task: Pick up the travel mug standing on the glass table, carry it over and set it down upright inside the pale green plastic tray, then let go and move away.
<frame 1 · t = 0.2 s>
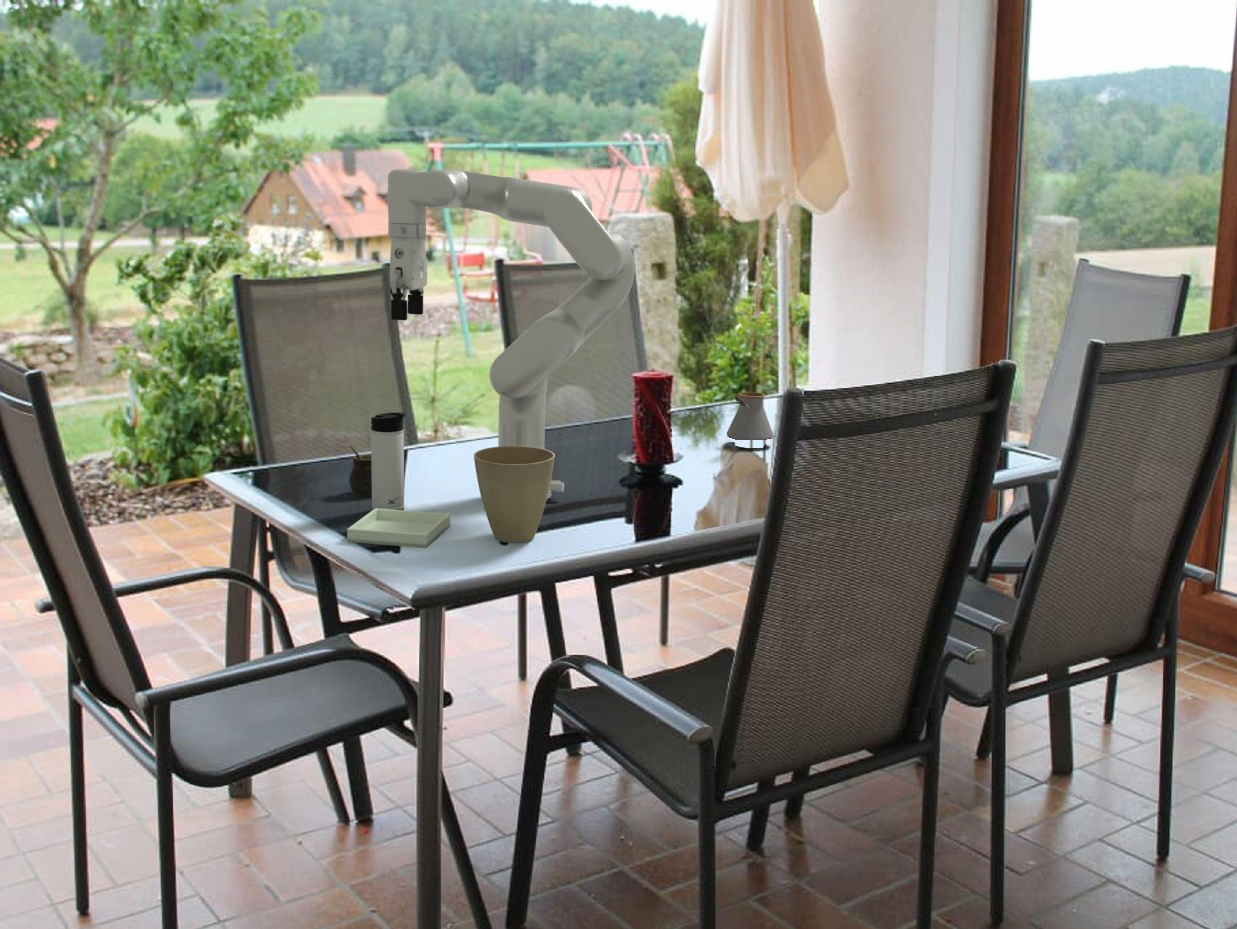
hand: (407, 317, 284), 36 cm above the table, tool pointing down, fingers open, 9 cm apart
travel mug: (389, 513, 275), on the table
mate gourd: (366, 495, 288), on the table
coffee pot: (744, 450, 339), on the table
tray: (400, 533, 260), on the table
plant pot: (513, 538, 260), on the table
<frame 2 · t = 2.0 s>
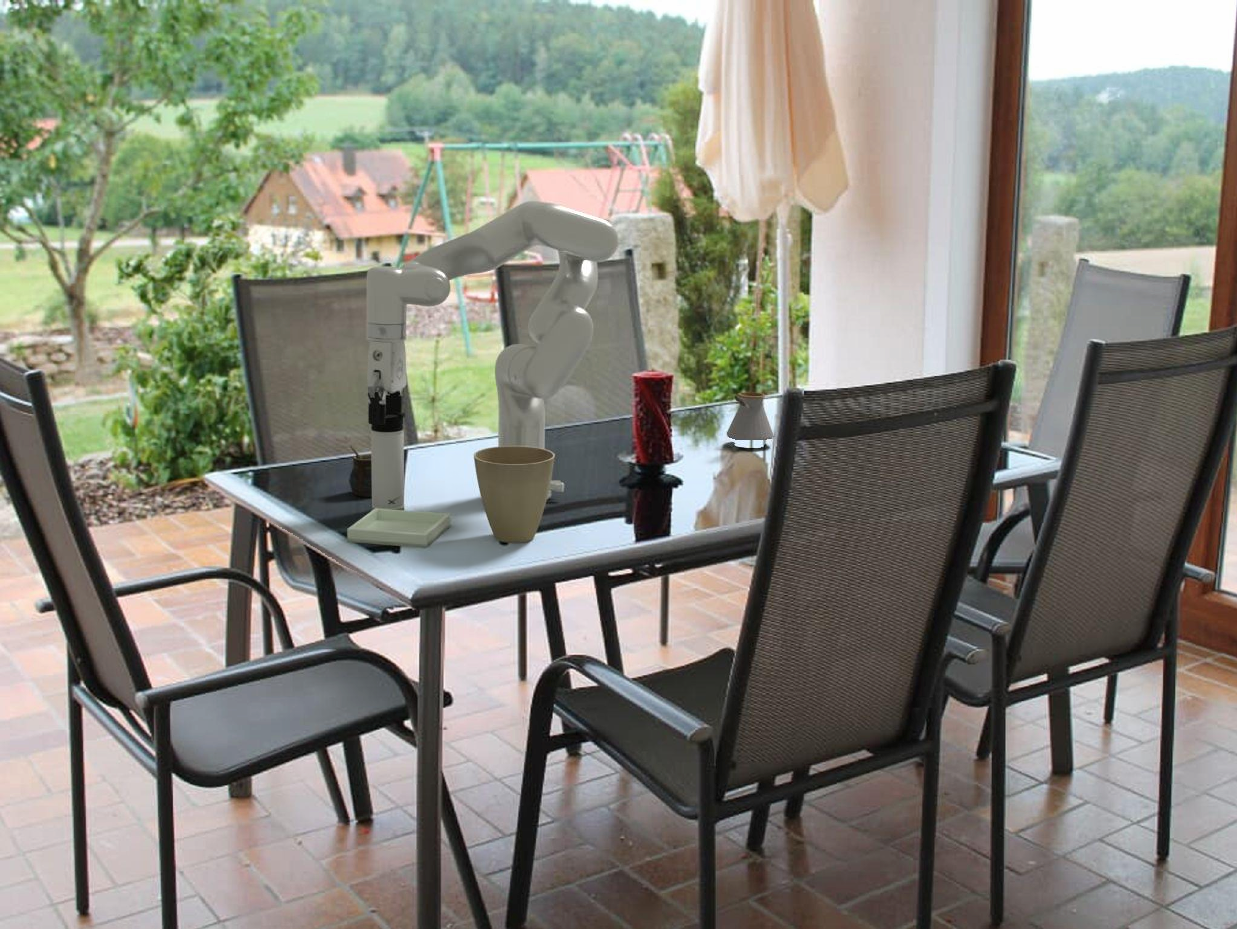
hand: (385, 419, 270), 19 cm above the table, tool pointing down, fingers open, 9 cm apart
nothing on the table moved.
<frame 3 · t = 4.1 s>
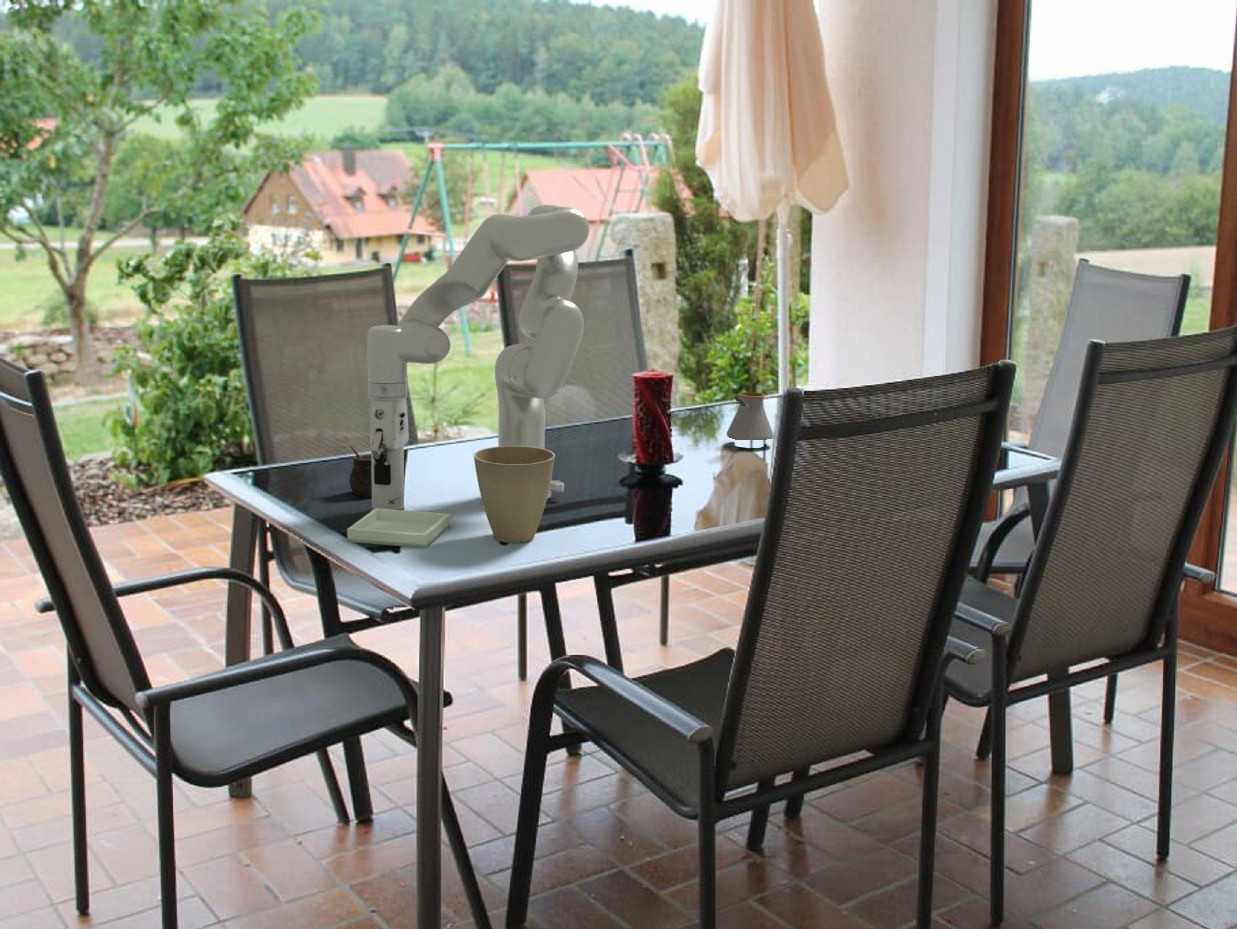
hand: (388, 479, 273), 7 cm above the table, tool pointing down, fingers closed on travel mug, 6 cm apart
travel mug: (388, 513, 275), on the table, touching gripper
everything else where it was.
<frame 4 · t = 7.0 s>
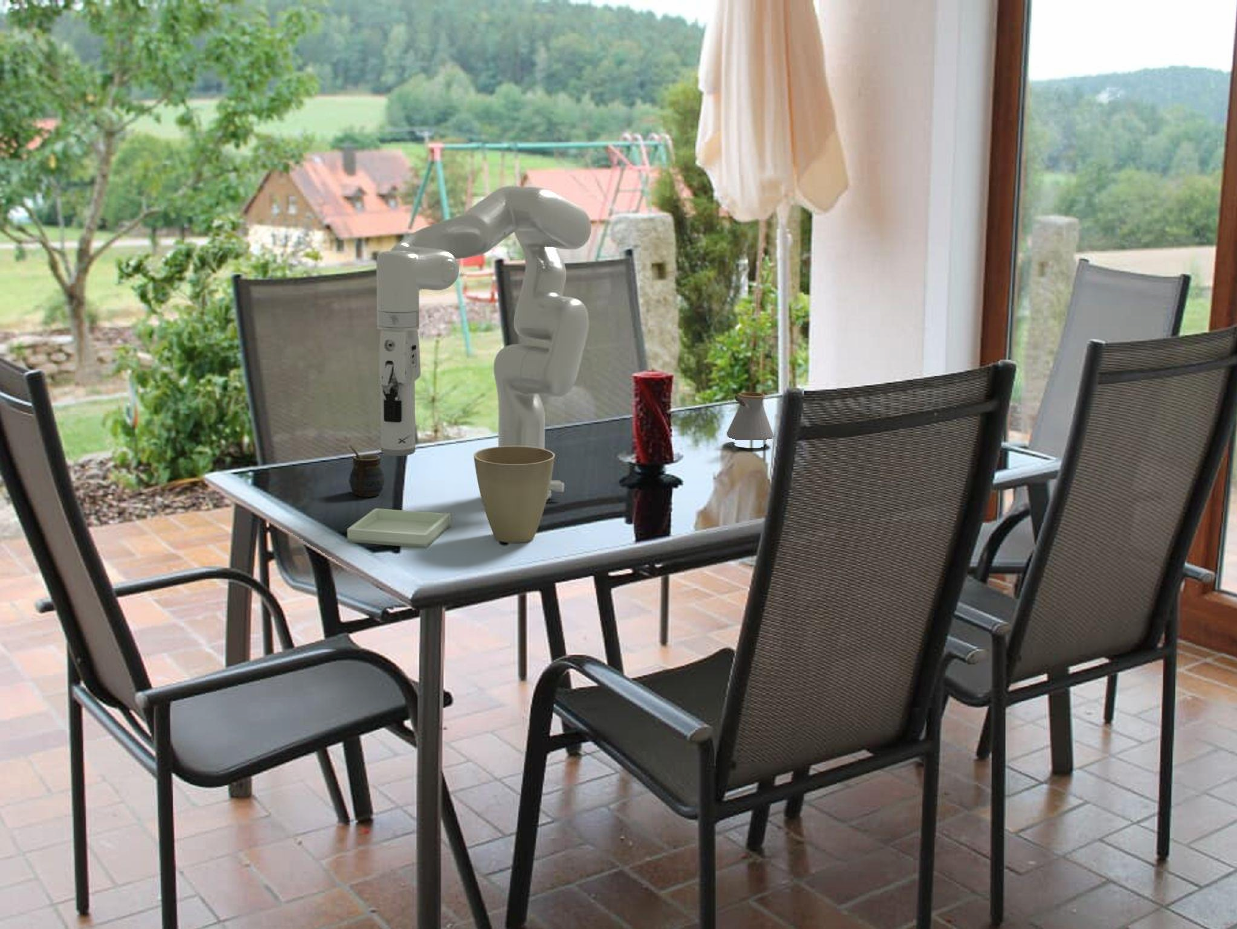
hand: (399, 417, 255), 22 cm above the table, tool pointing down, fingers closed on travel mug, 6 cm apart
travel mug: (399, 453, 257), point 15 cm above the table, touching gripper
everything else where it was.
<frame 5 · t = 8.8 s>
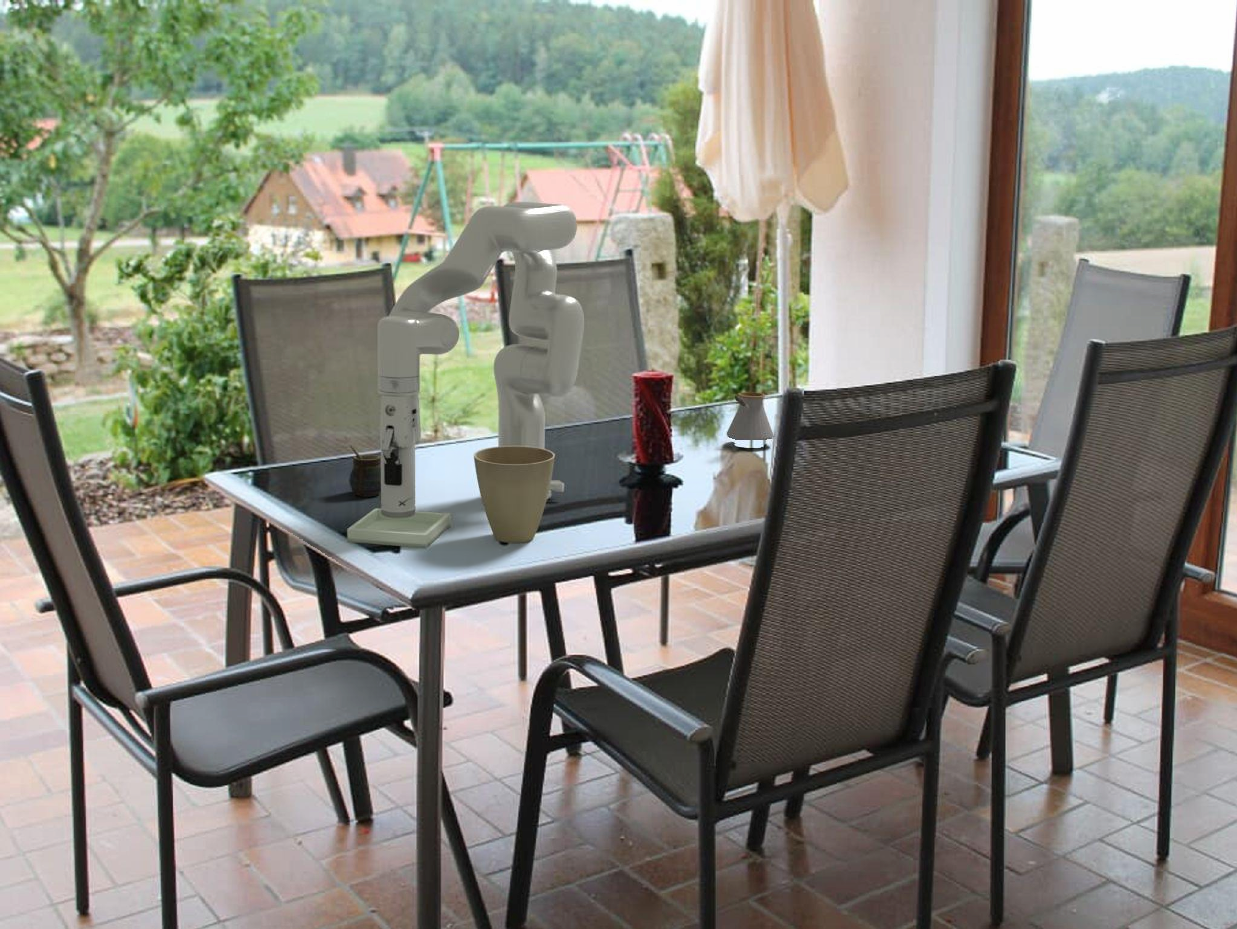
hand: (399, 479, 258), 10 cm above the table, tool pointing down, fingers closed on travel mug, 6 cm apart
travel mug: (399, 515, 259), point 4 cm above the table, touching gripper
everything else where it was.
when the fingers open (8 cm above the table, at t = 10.3 s): travel mug stays where it is, resting on tray.
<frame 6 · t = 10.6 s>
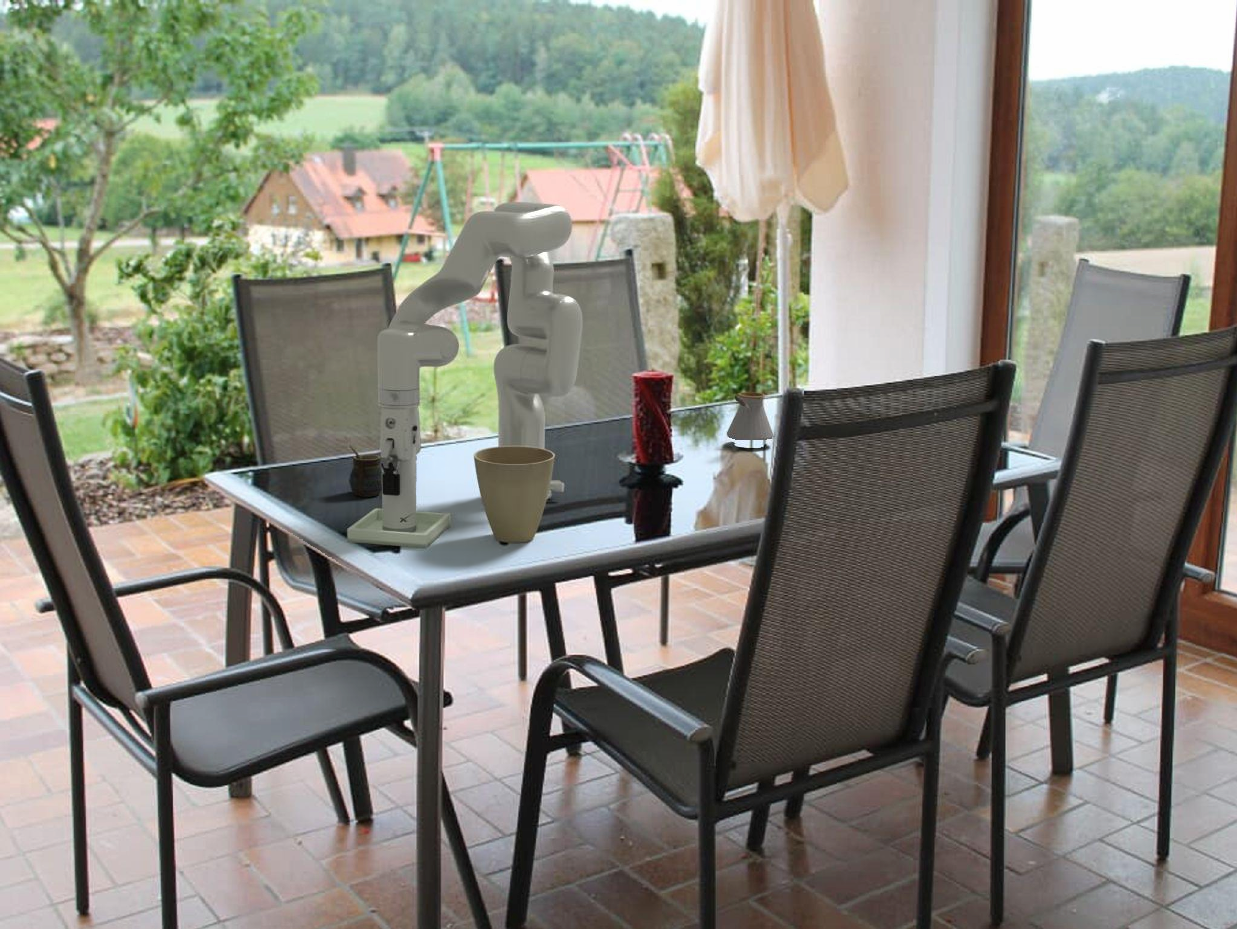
hand: (399, 488, 258), 9 cm above the table, tool pointing down, fingers open, 9 cm apart
travel mug: (400, 531, 260), resting on tray
everything else where it was.
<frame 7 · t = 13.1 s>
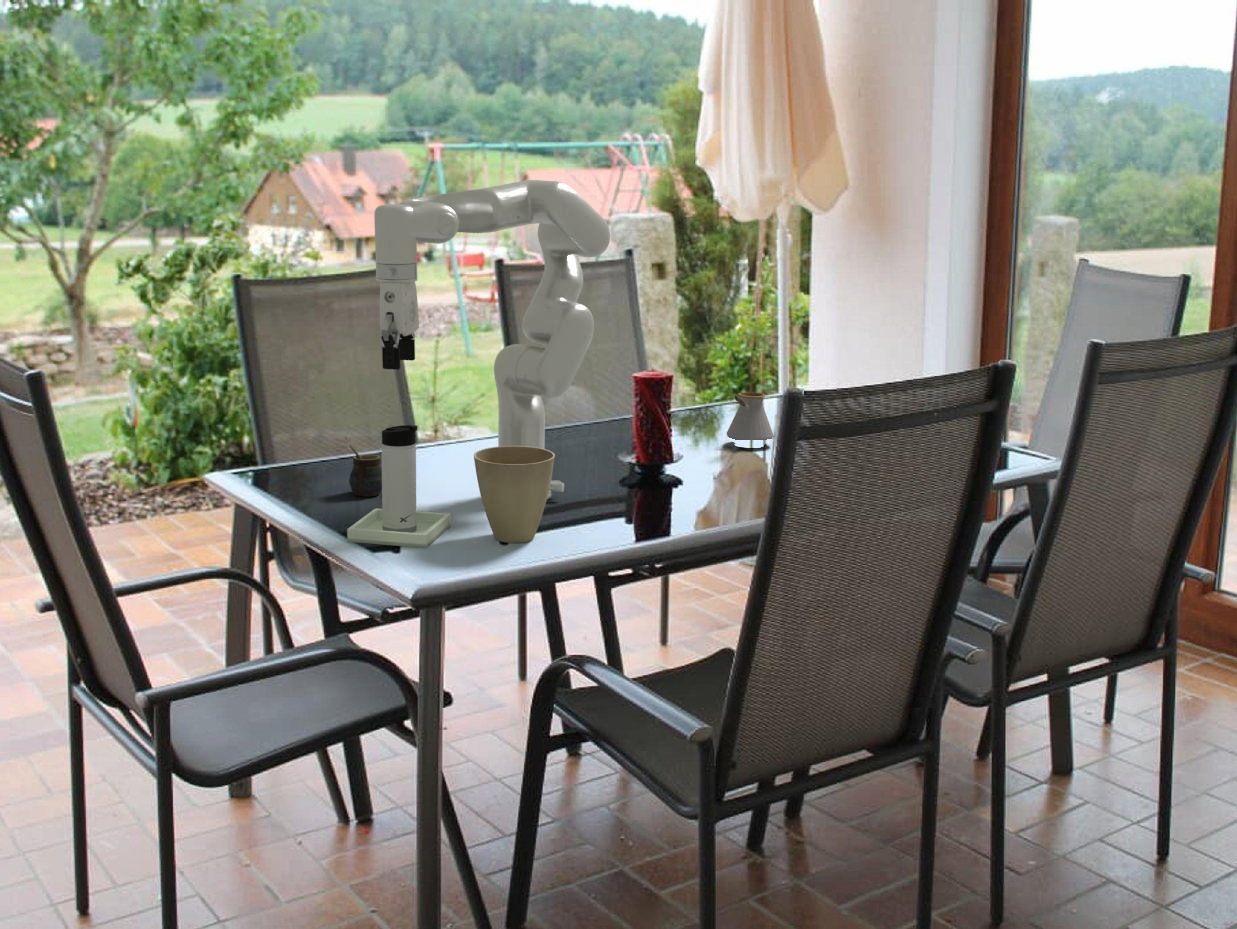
hand: (399, 364, 261), 31 cm above the table, tool pointing down, fingers open, 9 cm apart
nothing on the table moved.
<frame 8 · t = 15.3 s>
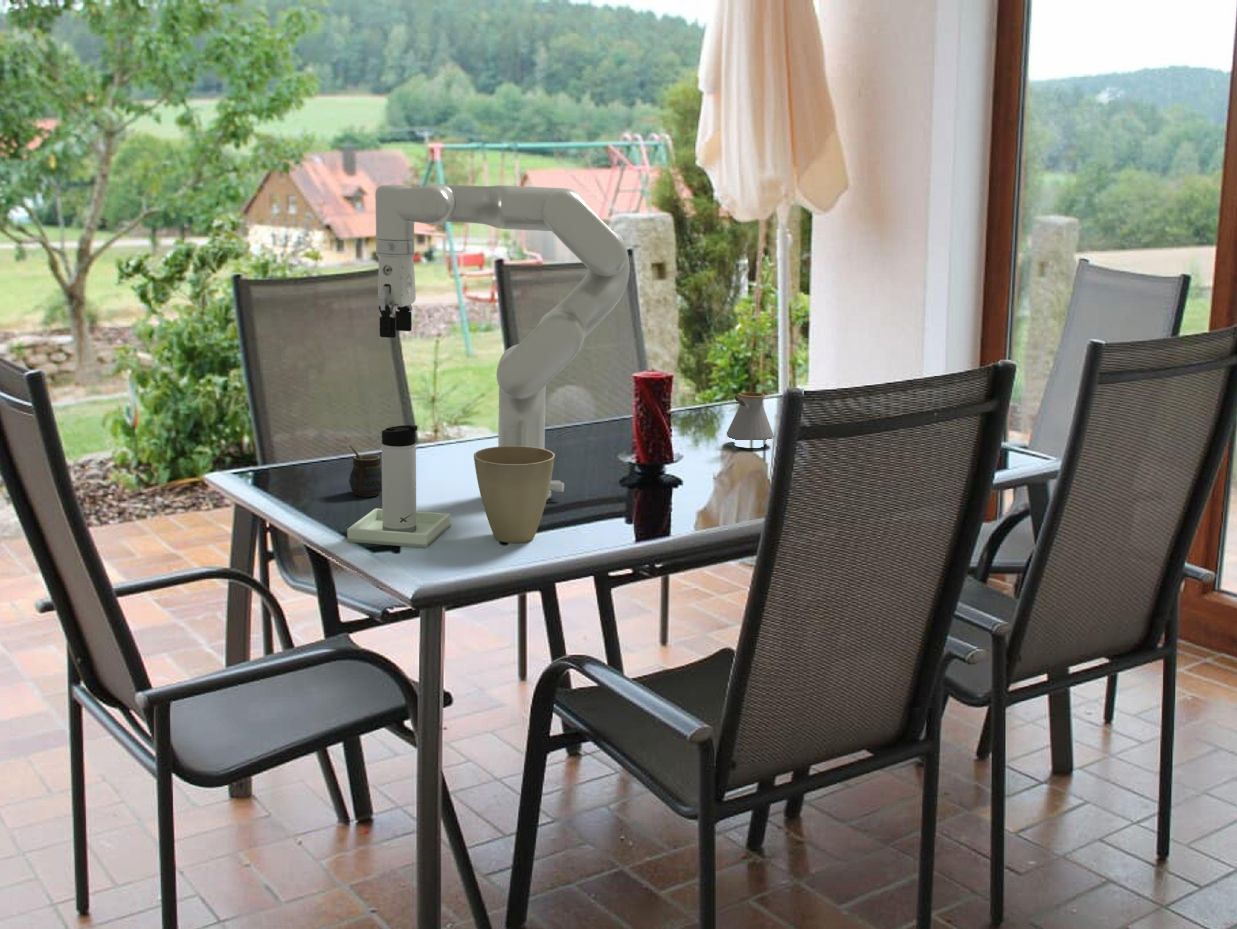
hand: (396, 333, 281), 33 cm above the table, tool pointing down, fingers open, 9 cm apart
nothing on the table moved.
at the end: travel mug inside the target area on the tray (0.2 cm from its centre), point 0.4 cm above the tray's base; travel mug tilted 0°; the gripper is holding nothing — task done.
